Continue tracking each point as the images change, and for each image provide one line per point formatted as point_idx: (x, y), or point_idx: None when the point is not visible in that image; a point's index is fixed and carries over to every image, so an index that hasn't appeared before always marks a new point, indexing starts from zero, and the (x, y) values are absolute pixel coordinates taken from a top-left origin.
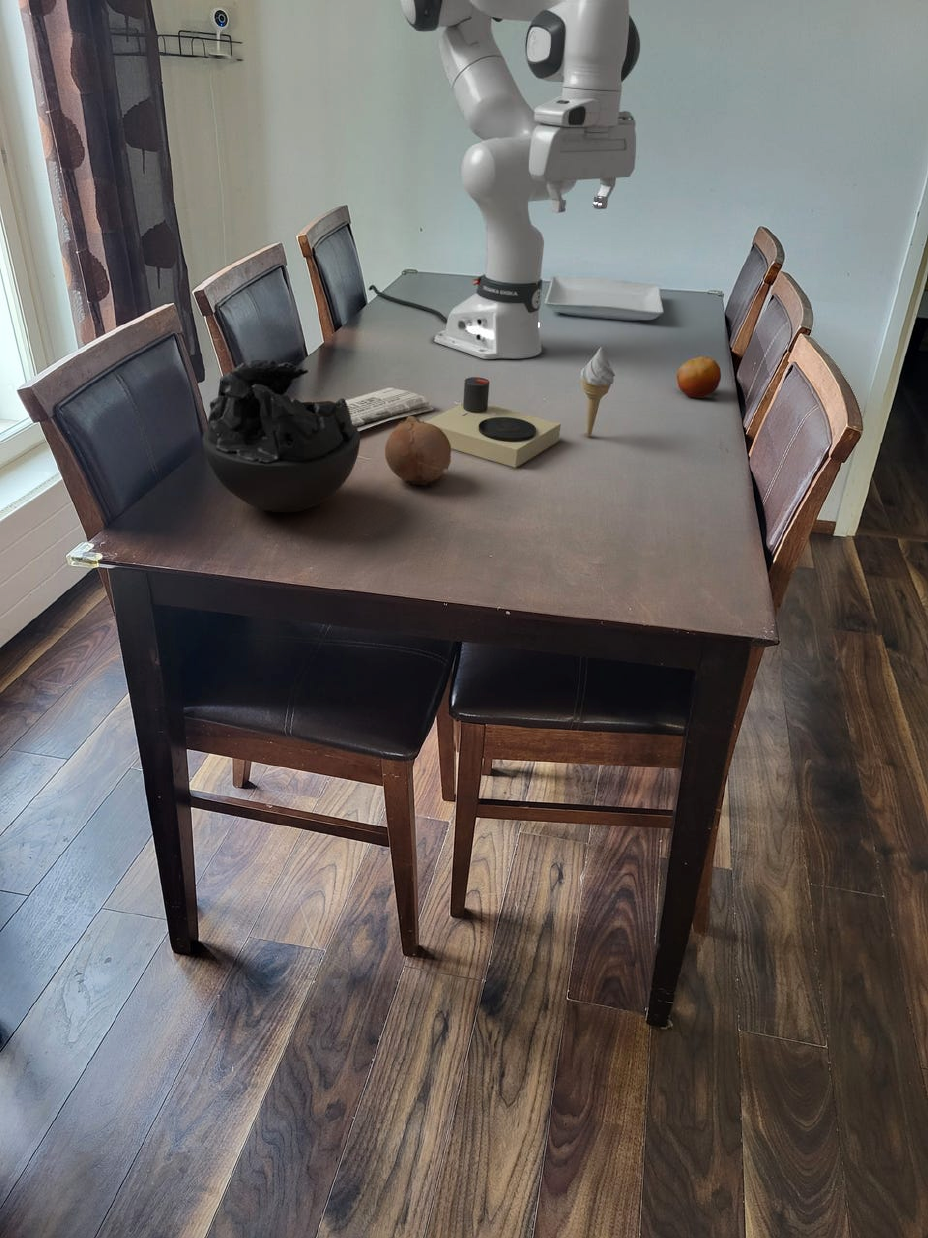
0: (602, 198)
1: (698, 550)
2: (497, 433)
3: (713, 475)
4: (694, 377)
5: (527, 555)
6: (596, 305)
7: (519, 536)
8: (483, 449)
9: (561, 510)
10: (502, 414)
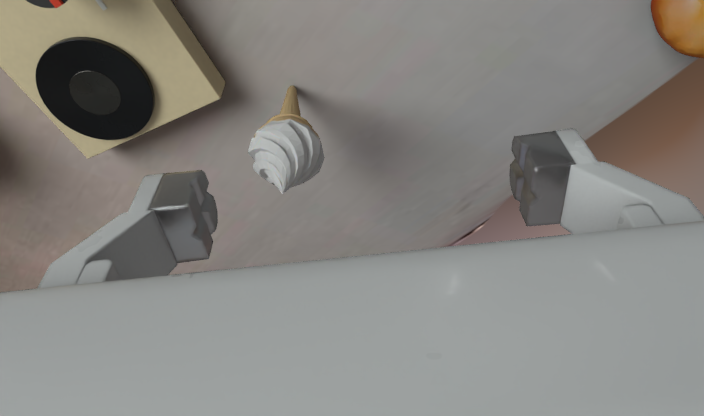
0: (530, 221)
1: None
2: (64, 110)
3: (374, 251)
4: (664, 37)
5: None
6: None
7: (36, 277)
8: None
9: None
10: (120, 12)
